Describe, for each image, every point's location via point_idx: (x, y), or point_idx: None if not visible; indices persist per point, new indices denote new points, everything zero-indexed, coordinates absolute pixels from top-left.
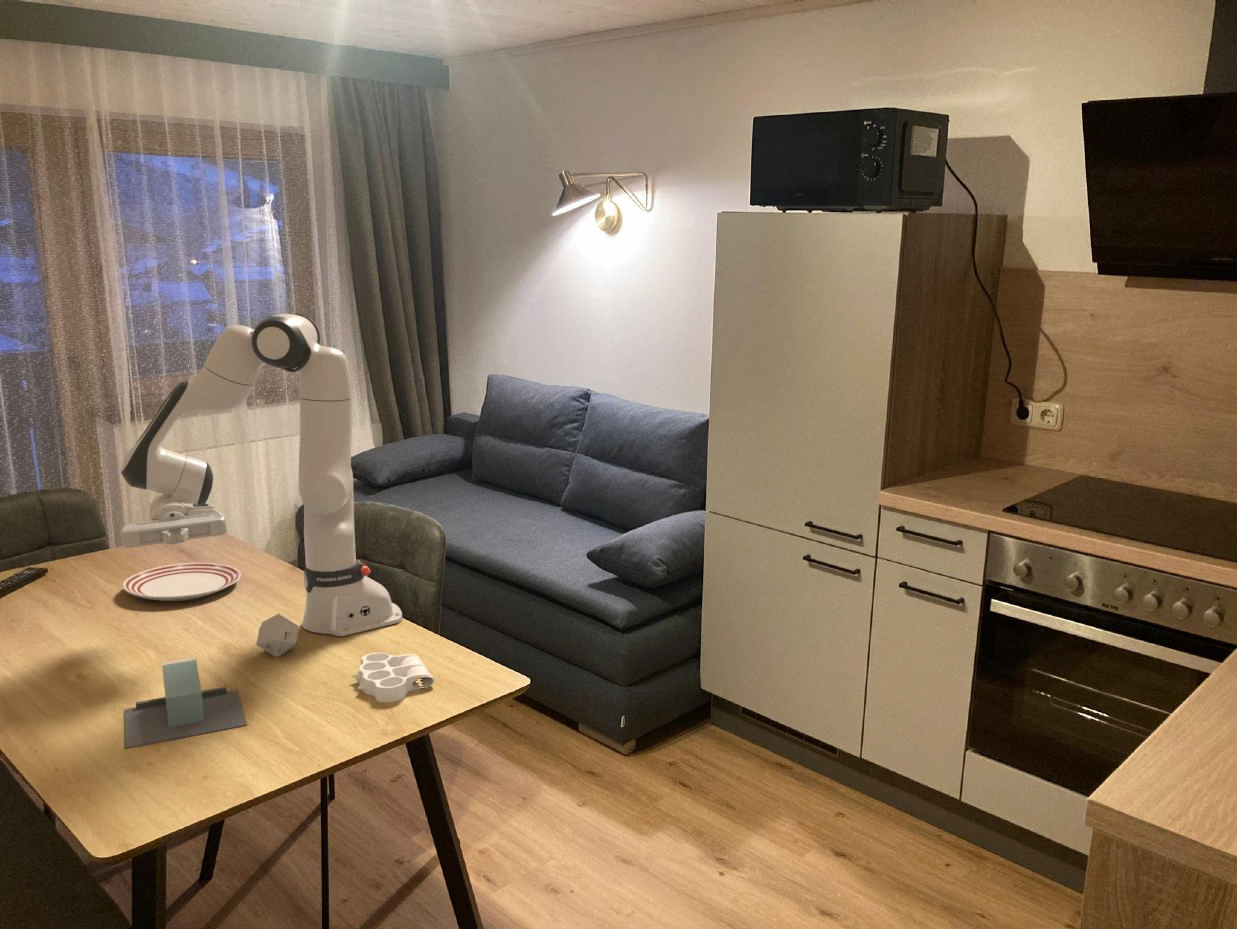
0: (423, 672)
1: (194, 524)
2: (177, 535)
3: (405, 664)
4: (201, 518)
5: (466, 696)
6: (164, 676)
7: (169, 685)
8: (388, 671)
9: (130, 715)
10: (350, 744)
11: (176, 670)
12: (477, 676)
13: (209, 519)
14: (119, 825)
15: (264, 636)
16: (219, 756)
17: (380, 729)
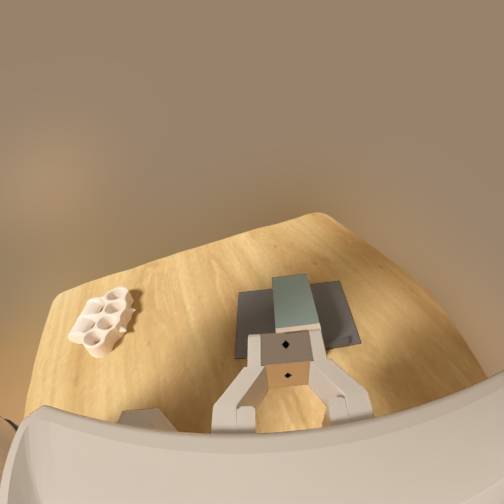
0: (88, 304)
1: (165, 431)
2: (277, 333)
3: (85, 323)
4: (99, 496)
5: (89, 289)
6: (313, 303)
7: (305, 289)
8: (104, 310)
9: (350, 329)
10: (180, 259)
11: (300, 311)
12: (63, 309)
13: (74, 436)
14: (319, 223)
15: (166, 423)
16: (265, 262)
17: (155, 269)
